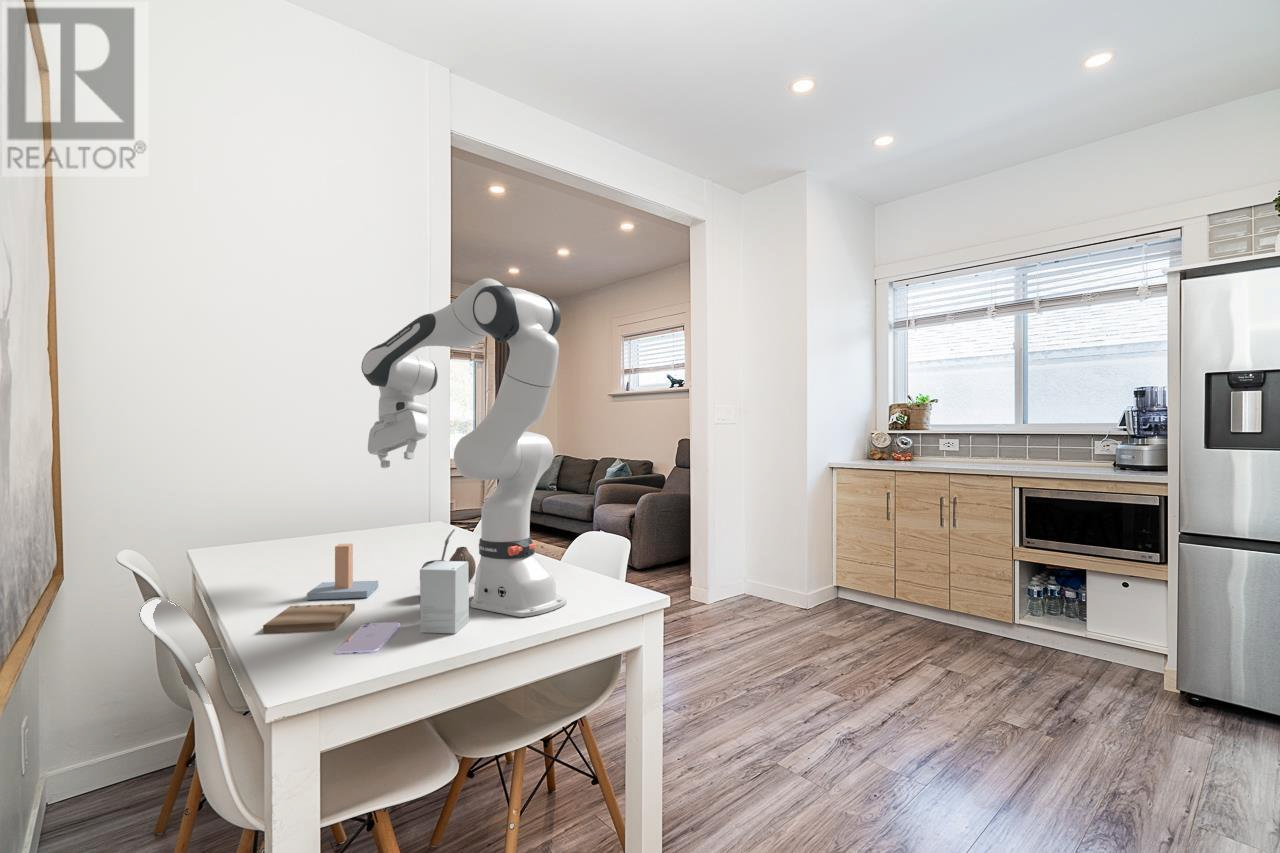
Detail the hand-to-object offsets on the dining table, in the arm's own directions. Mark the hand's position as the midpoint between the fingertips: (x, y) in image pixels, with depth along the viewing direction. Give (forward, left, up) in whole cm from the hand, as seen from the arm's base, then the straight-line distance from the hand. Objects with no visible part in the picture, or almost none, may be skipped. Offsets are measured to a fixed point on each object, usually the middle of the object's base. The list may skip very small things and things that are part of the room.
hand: (396, 463), depth 151 cm
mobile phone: (-34, +24, -31) cm, 52 cm away
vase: (-14, -10, -31) cm, 35 cm away
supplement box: (-40, +12, -31) cm, 52 cm away
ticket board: (-16, +27, -30) cm, 44 cm away
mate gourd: (-20, +1, -31) cm, 37 cm away
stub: (-2, +14, -30) cm, 33 cm away
